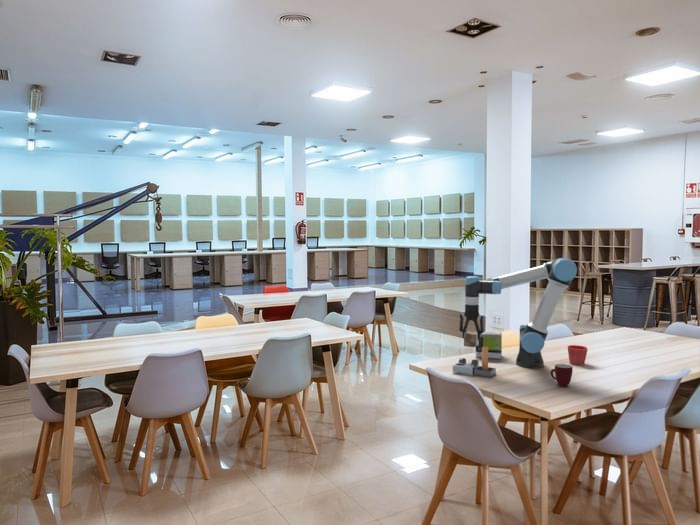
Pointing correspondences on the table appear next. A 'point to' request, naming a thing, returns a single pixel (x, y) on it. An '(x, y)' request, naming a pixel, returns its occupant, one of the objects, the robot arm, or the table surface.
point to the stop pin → (485, 358)
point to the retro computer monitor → (490, 344)
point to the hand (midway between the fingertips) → (471, 344)
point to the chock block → (470, 339)
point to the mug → (562, 374)
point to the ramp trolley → (465, 366)
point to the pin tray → (485, 372)
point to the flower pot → (577, 354)
